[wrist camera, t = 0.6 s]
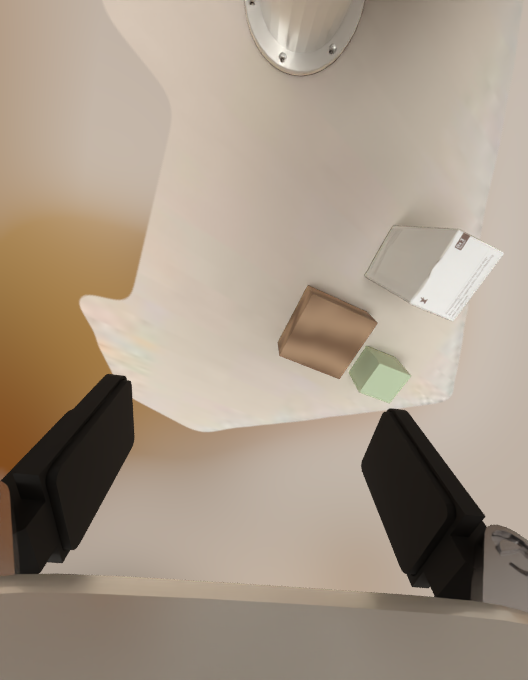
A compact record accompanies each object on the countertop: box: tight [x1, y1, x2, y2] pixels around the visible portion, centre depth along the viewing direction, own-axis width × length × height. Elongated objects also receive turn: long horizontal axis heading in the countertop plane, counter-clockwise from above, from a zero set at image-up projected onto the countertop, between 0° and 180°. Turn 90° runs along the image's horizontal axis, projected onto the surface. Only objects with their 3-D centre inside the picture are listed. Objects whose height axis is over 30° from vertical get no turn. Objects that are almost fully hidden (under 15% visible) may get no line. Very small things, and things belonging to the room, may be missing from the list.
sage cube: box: [349, 346, 411, 403], centre depth 47 cm, size 6×6×6 cm
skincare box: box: [365, 226, 504, 321], centre depth 34 cm, size 8×6×15 cm
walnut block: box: [278, 285, 377, 379], centre depth 44 cm, size 11×11×5 cm
